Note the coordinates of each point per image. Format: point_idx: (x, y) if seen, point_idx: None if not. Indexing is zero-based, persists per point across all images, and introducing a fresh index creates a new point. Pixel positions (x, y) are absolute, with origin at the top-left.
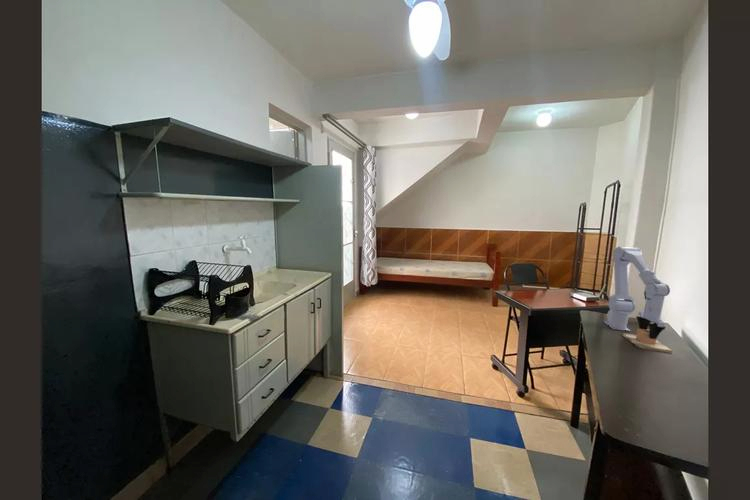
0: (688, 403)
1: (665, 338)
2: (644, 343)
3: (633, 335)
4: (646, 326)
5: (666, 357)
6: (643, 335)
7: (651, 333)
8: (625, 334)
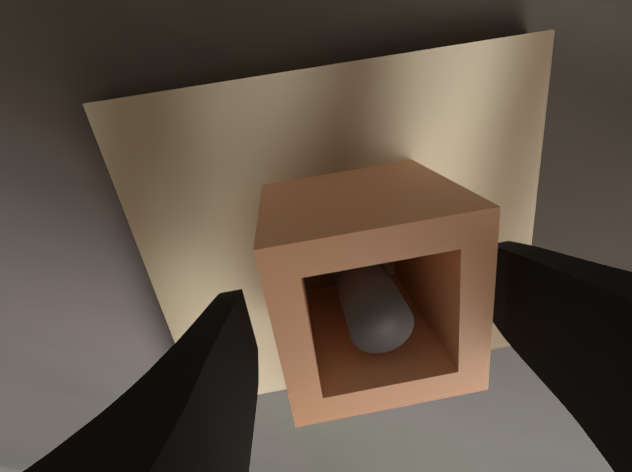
0: None
1: (561, 428)
2: (247, 203)
3: (500, 162)
4: (568, 386)
5: (22, 309)
6: (263, 222)
7: (171, 360)
8: (503, 51)
